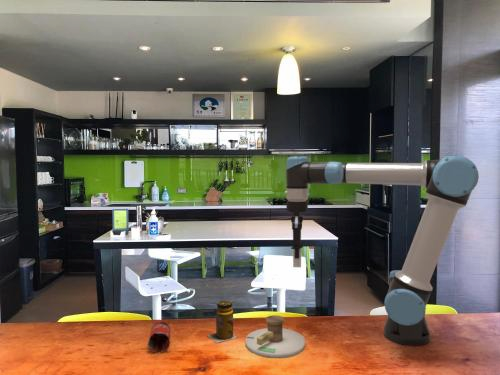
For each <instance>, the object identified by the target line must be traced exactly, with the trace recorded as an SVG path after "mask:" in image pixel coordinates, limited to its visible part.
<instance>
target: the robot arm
mask: <svg viewBox="0 0 500 375" xmlns="http://www.w3.org/2000/svg"><path fill="white" fill-rule="evenodd" d="M285 168H286V169H285V174H286V178H285V179H286V188H285V189H286V190H285V191H284V194H286V200H287V201H286V211H287V212H288V213H292V214H293V215H292V216H291V217H290V220H291V230H292V246H291V248H290V249H291V250H292V254H293V255H292V264H293V265H292V267H293V268H302V249H303V248H304V246H303V245H302V229H303V221H304V217H303V216H301V214H302V213H306V212H308V211H309V203H308V201H307V200H308V199H309V197H308V196H309V186H308V185H312V184H315V185H317V184H318V185H340V184H361V185H362V184H366V185H393V186H394V185H396V186H399V185H401V186H422V187H423V189H426V191H425V195H426V197H427V202H426V205H425V208H424V211H423V214H422V215H421V219H420V221H419V223H418V226H417V229H416V232H415V233H414V236H413V240H412V242H411V245H410V247H409V250H408V253H407V255H406V258H405V260H404V263H403V265H402V269H401V270H400V269H399V270H397V269H396V270H391V271H390V272H389V277H388V279H389V282H388V284H389V285H388V286H389V287H388V291H387V293H386V295H385V298H384V301H383V302H384V309H385V311H386V313H387V318H386V320H385V324H384V325H383V335H384V337H385V338H386V339H388V340H389V341H392V342H394V343H397V344H401V345H407V346H424V345H427V344H428V343H429V344H430V341H431V331H430V329H429V326H428V322H427V320H426V312H427V311H426V309H427V304H428V302H429V299H430V296H431V294H432V292H433V289H434V288H433V286H432V284H431V279H432V276H433V274H434V272H435V270H436V269H435V268H436V267H437V264H438V262H439V258H440V256H441V253H442V252H443V249H444V247H445V243H446V242H447V238H448V236H449V233H450V232H451V228H452V226H453V223H454V221H455V218H456V216H457V213H458V210H460V209H463V208H465V207H466V206H467V204H468V201H469V198H470V196H471V193H472V191H474V189H475V188H476V187H477V185H478V183H479V170H478V168H477V165H476V164H475V163H474V162H473V161H472V160H470V159H469V158H467V157H464V156H463V155H457V154H455V155H454V154H453V155H449V156H446V157H443V158H442V159H433V160H431V159H430V160H429V159H427V160H424V161H423V162H418V163H417V162H340V161H315V162H314V161H312V162H311V161H309V158H308V157H307V156H289V157H287V159H286V167H285Z"/></svg>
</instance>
